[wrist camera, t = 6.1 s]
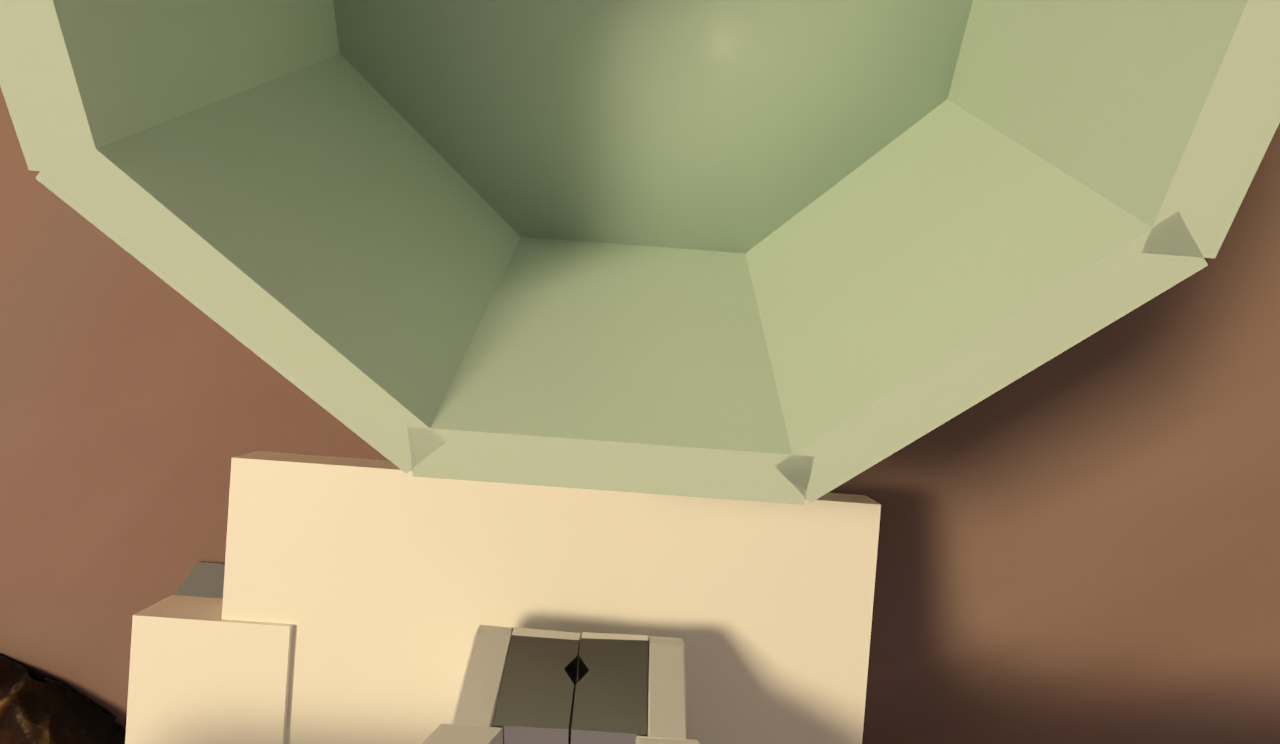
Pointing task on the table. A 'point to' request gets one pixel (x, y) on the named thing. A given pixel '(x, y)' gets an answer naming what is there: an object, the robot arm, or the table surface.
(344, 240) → the cup
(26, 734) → the bread roll
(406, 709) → the lever
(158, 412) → the table surface
